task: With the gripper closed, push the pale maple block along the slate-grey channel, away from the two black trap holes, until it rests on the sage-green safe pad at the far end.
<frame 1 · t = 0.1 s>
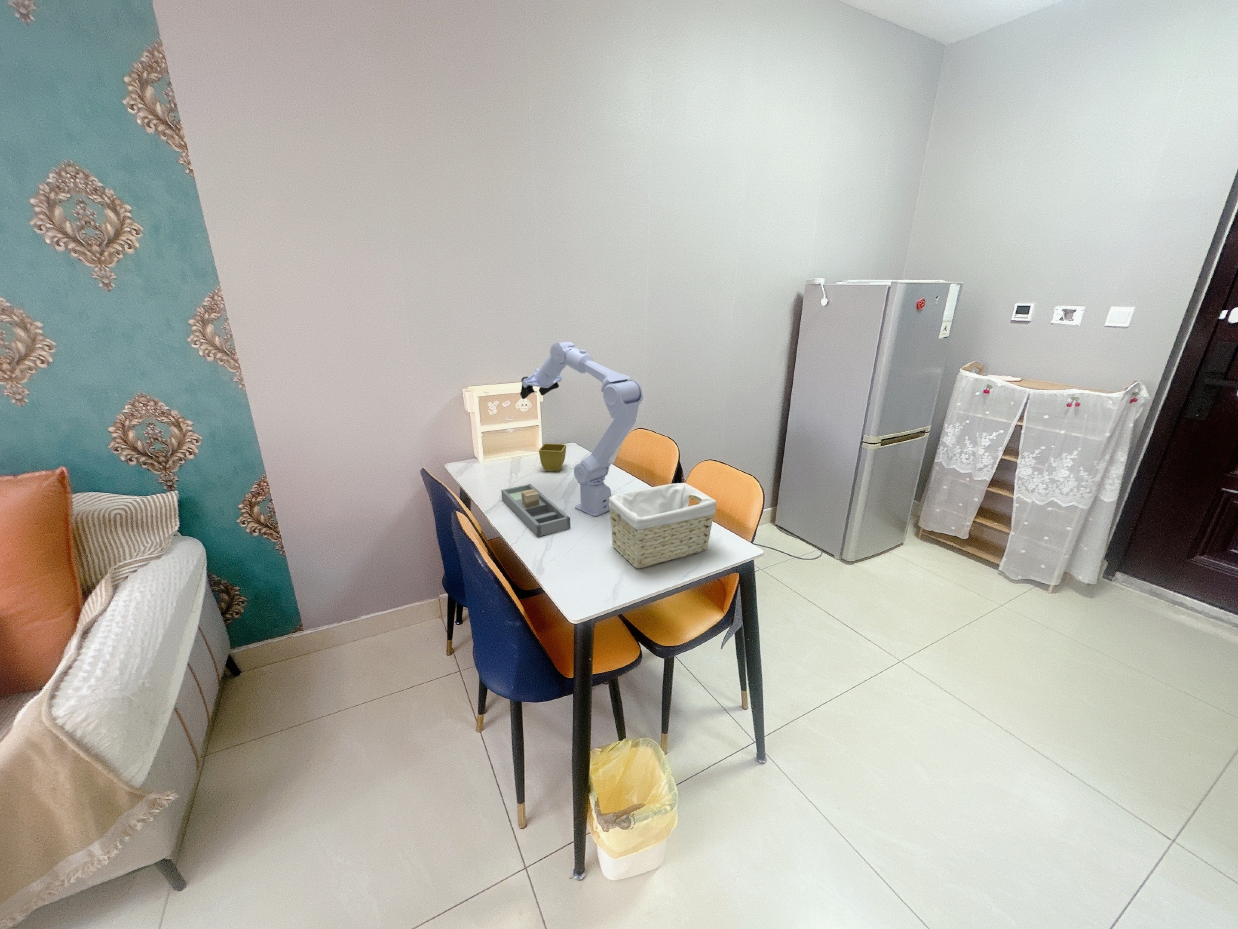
hand: (531, 394, 159), 32 cm above the table, tool tilted 50°, fingers open, 7 cm apart
storage basket: (660, 549, 128), on the table
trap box: (534, 513, 148), on the table
maple block: (530, 504, 149), point 2 cm above the table, touching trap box
flower pot: (553, 470, 185), on the table
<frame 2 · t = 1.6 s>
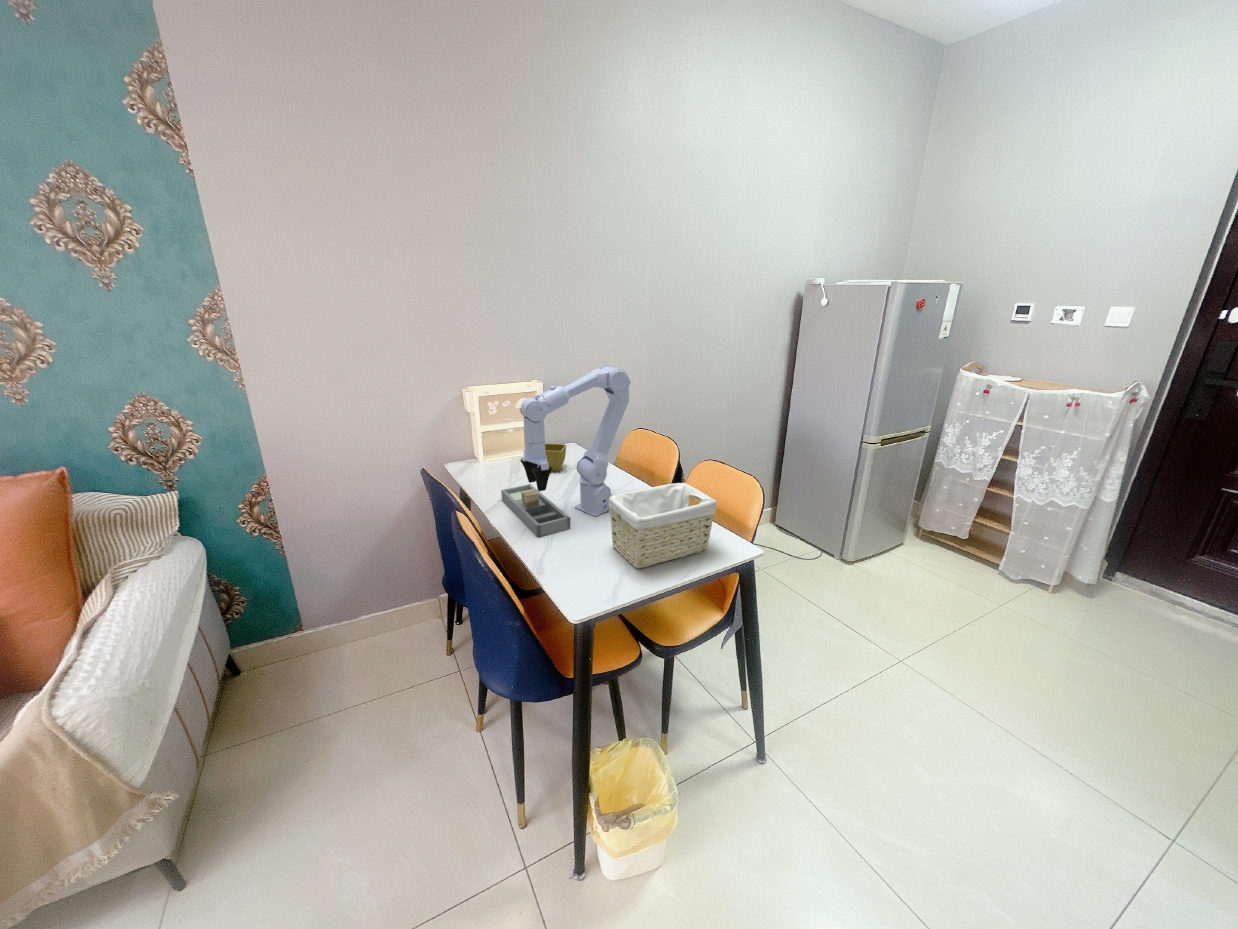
hand: (537, 486, 141), 11 cm above the table, tool pointing down, fingers open, 7 cm apart
nothing on the table moved.
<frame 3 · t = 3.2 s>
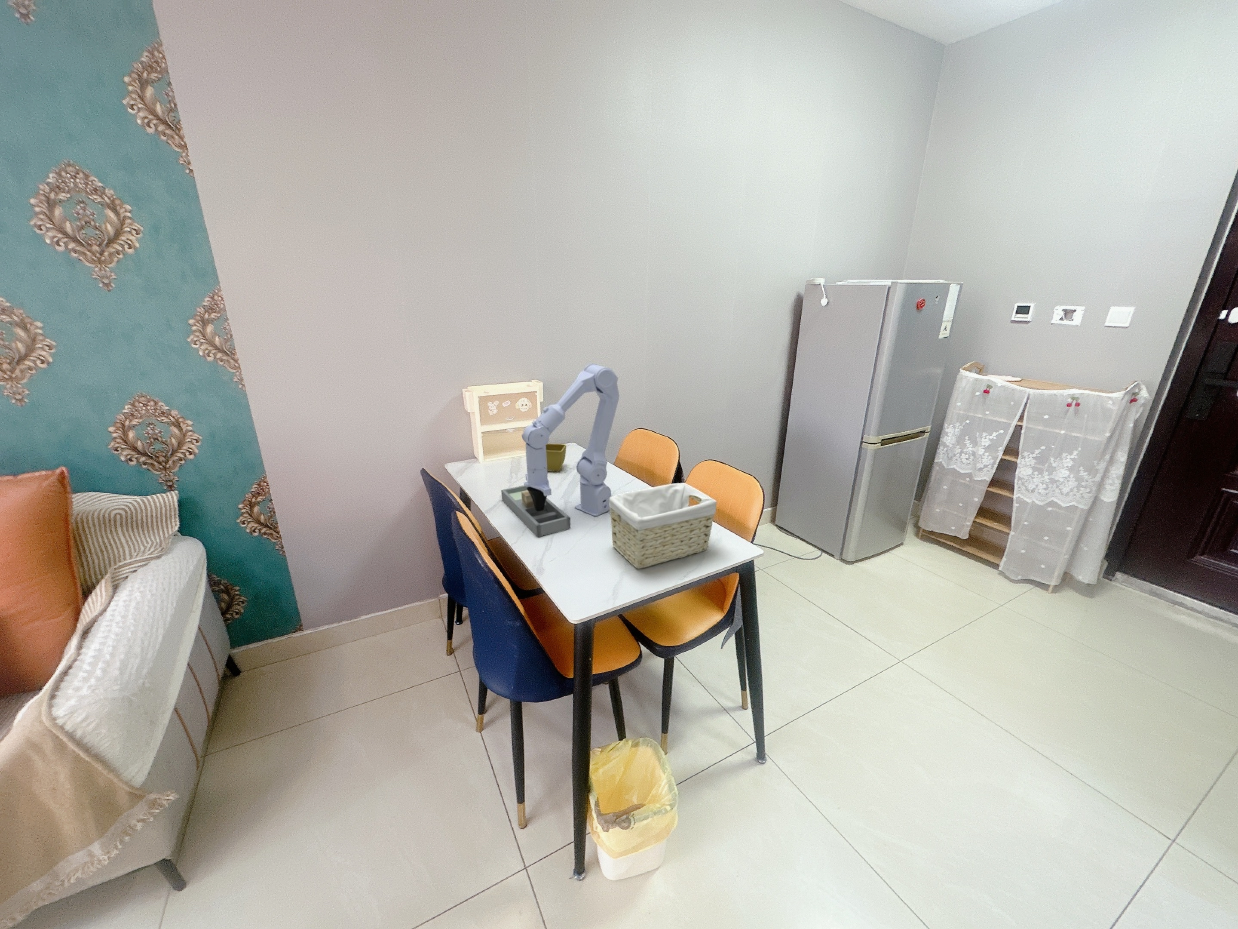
hand: (539, 510, 143), 3 cm above the table, tool pointing down, fingers closed
nothing on the table moved.
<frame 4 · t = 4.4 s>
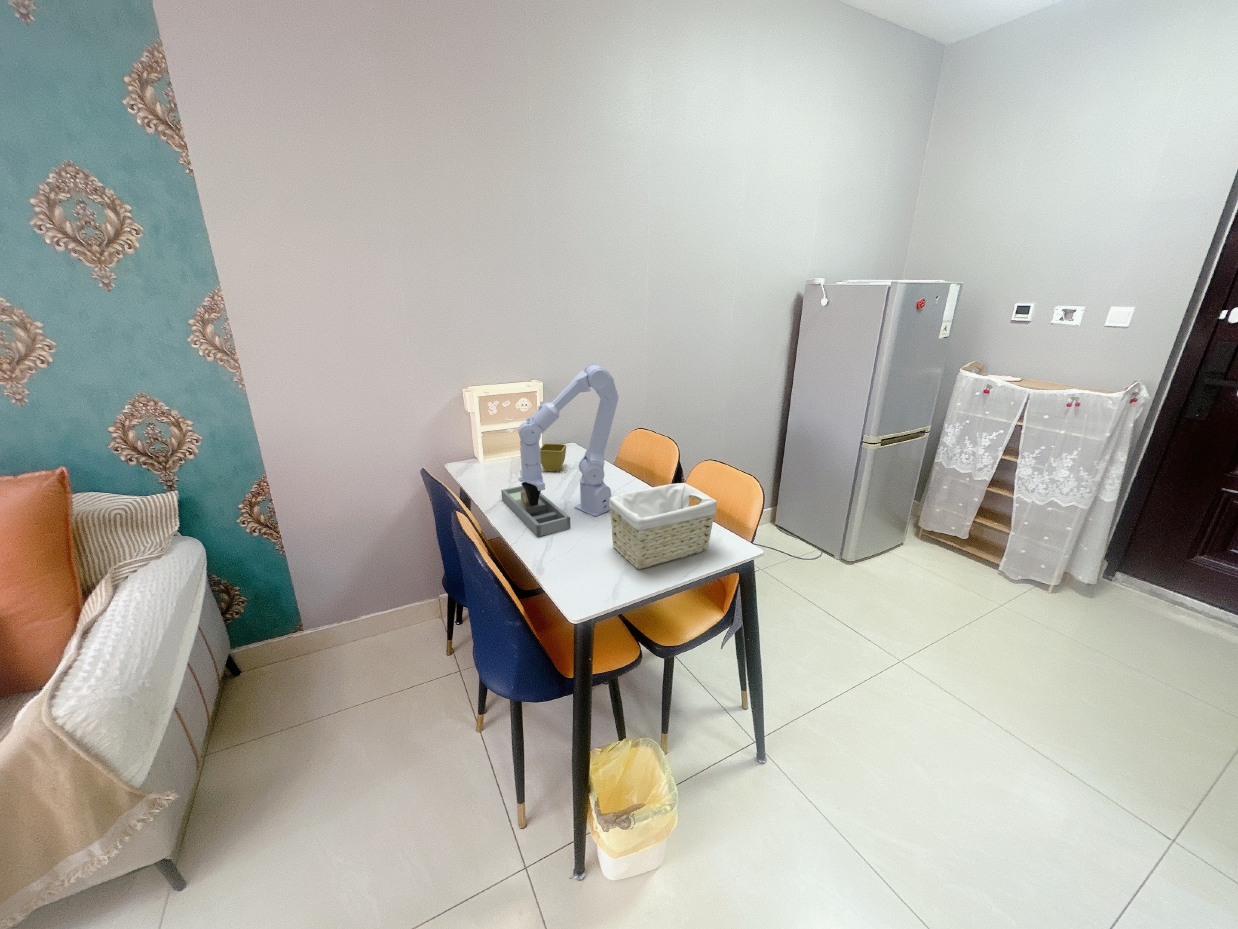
hand: (533, 504, 147), 3 cm above the table, tool pointing down, fingers closed
maple block: (529, 503, 150), point 2 cm above the table, touching gripper, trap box
everything else where it was.
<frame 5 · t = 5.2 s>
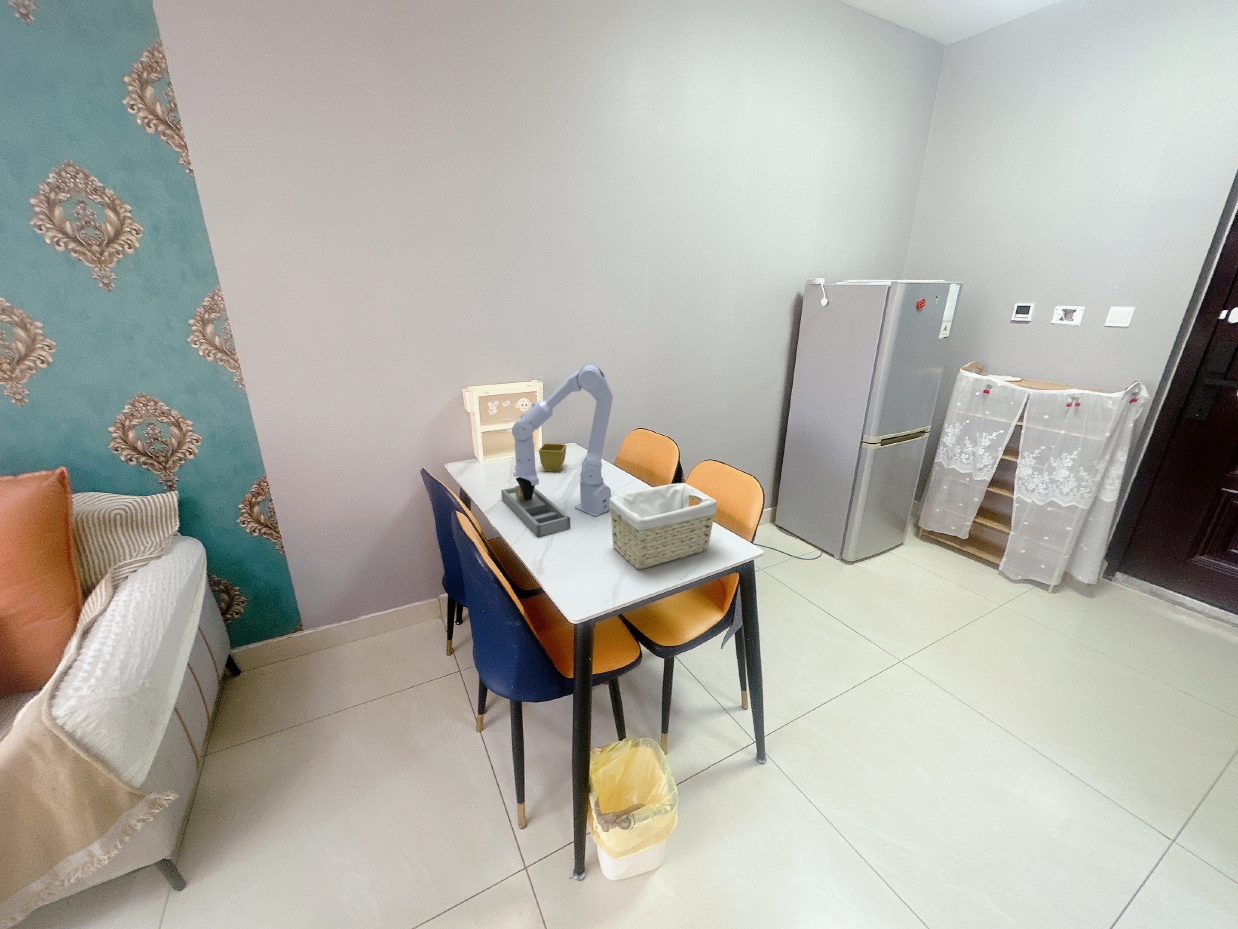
hand: (528, 499, 150), 3 cm above the table, tool pointing down, fingers closed
maple block: (524, 498, 153), point 2 cm above the table, touching gripper
everything else where it was.
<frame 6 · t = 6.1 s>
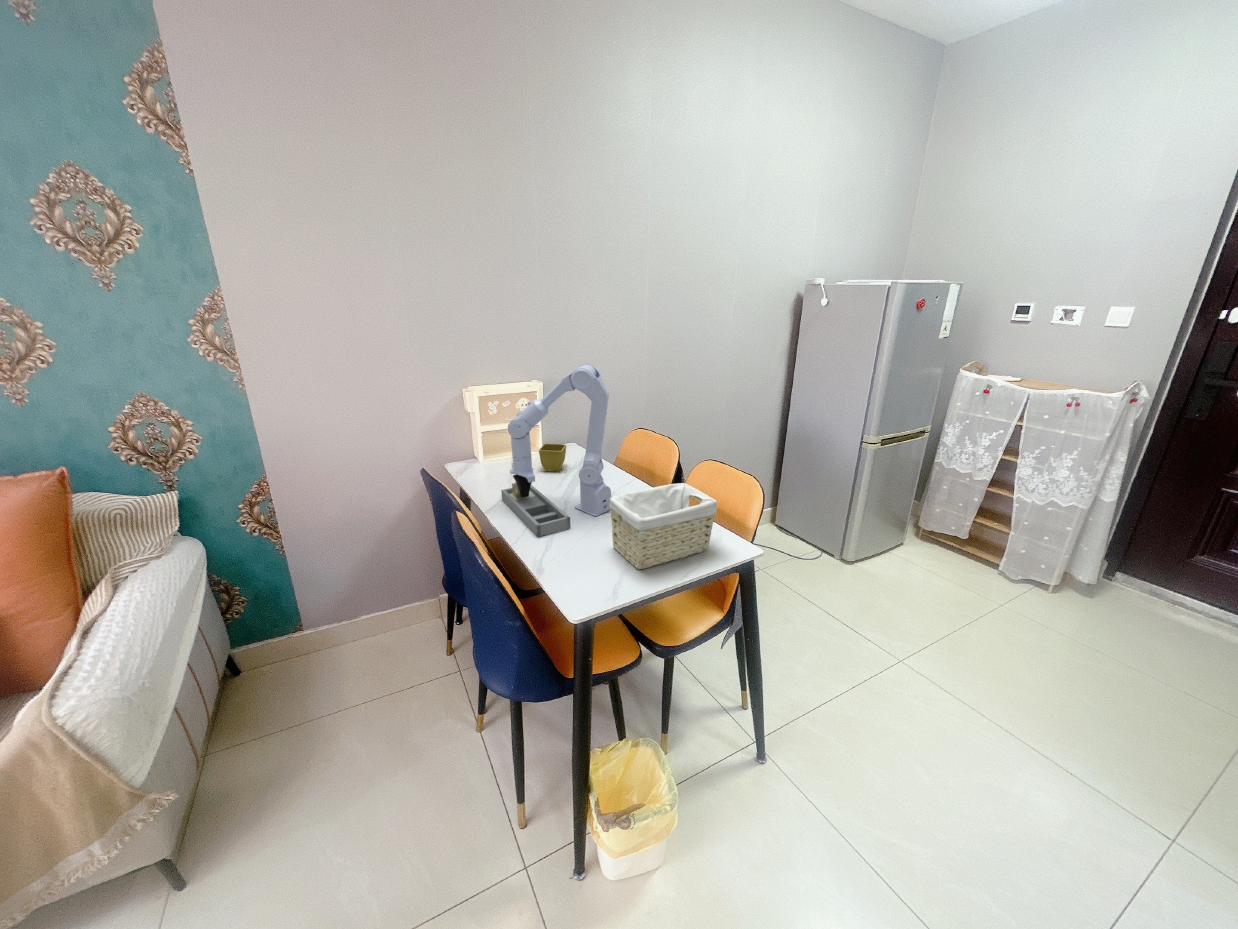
hand: (524, 496, 153), 3 cm above the table, tool pointing down, fingers closed
maple block: (521, 495, 156), point 2 cm above the table, touching gripper, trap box
everything else where it was.
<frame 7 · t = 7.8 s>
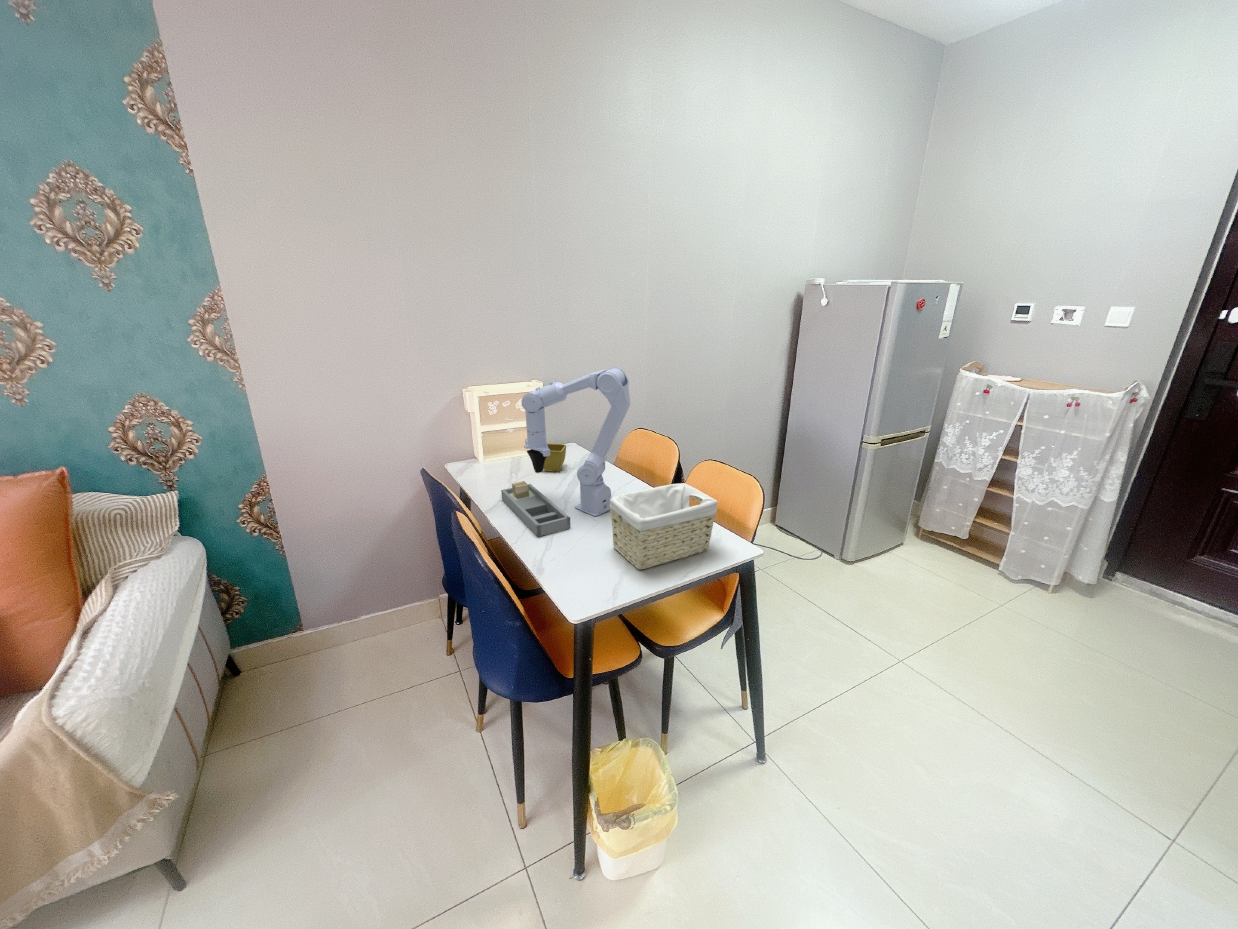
hand: (538, 471, 152), 10 cm above the table, tool pointing down, fingers closed
maple block: (521, 495, 156), point 2 cm above the table, touching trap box
everything else where it was.
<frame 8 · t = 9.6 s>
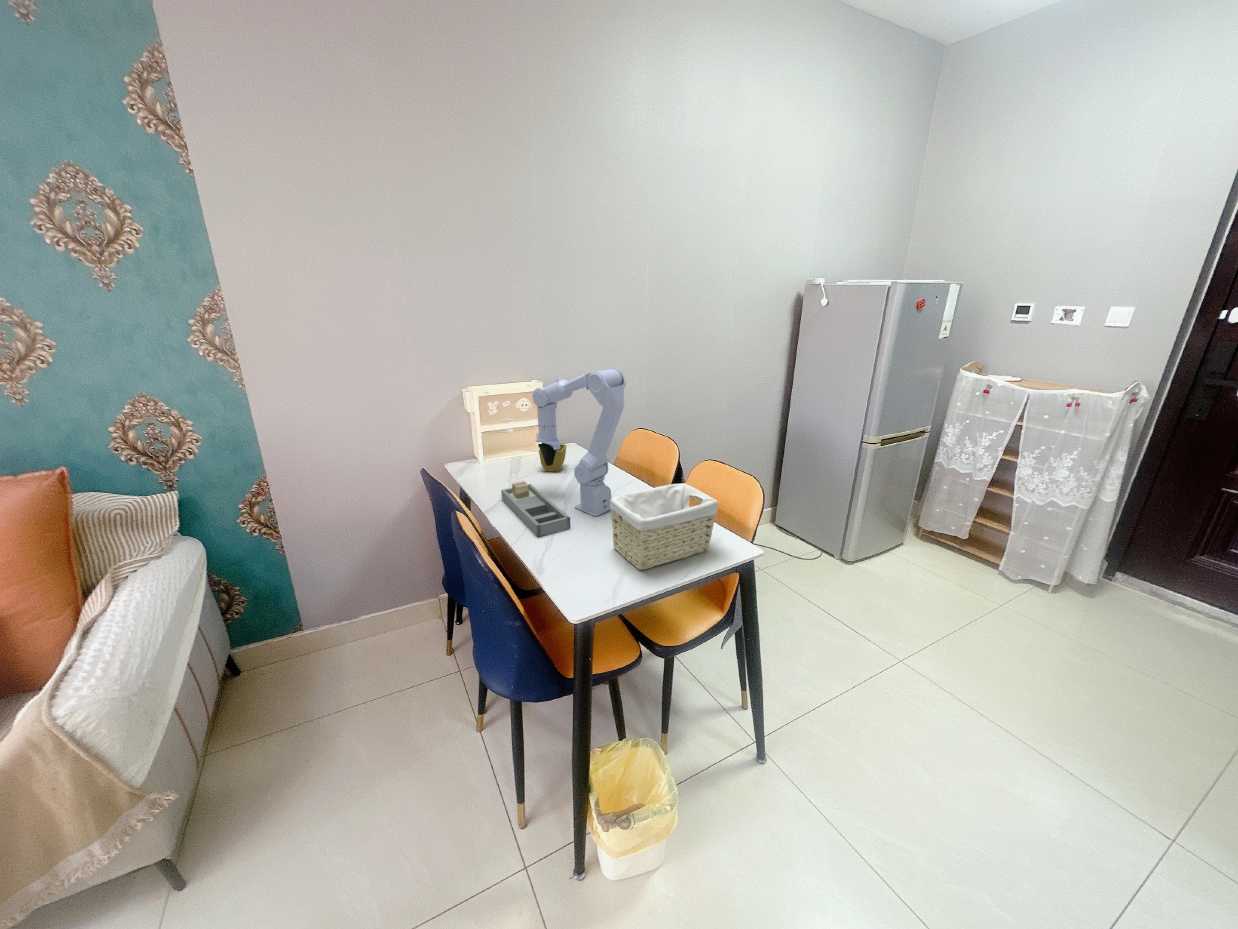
hand: (549, 464, 158), 10 cm above the table, tool pointing down, fingers closed
nothing on the table moved.
at the end: maple block 0.3 cm from the target spot, point 2.0 cm above the table; maple block tilted 0° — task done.
